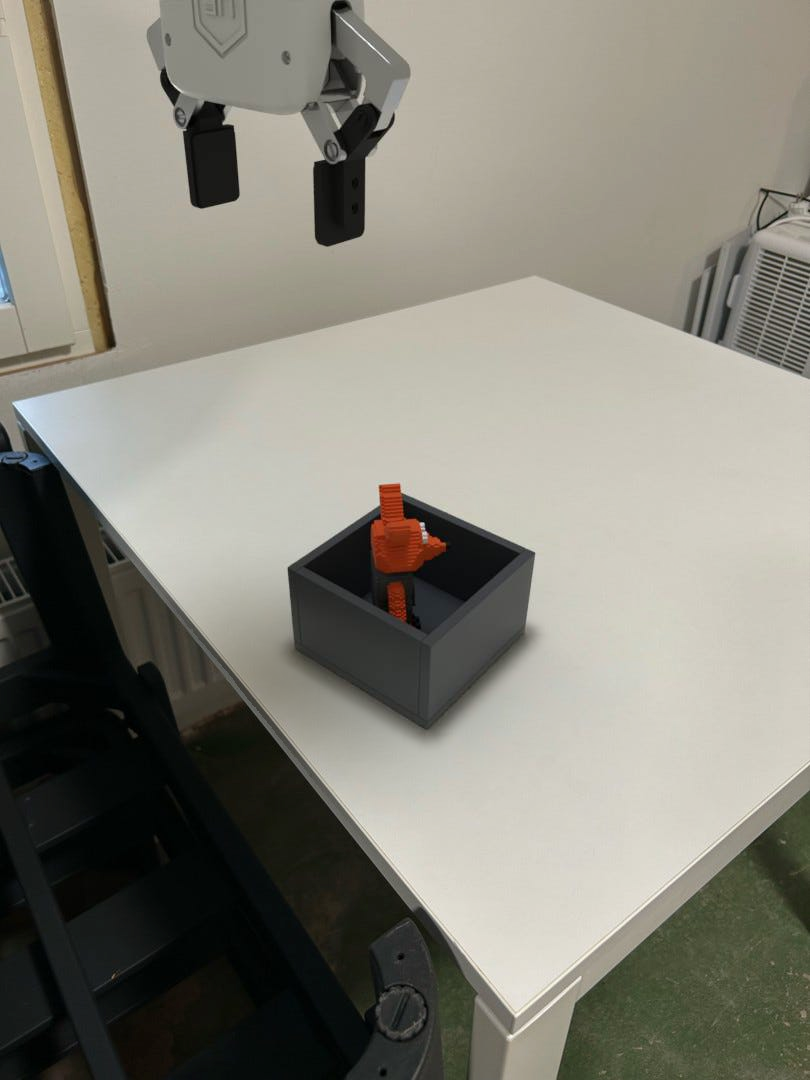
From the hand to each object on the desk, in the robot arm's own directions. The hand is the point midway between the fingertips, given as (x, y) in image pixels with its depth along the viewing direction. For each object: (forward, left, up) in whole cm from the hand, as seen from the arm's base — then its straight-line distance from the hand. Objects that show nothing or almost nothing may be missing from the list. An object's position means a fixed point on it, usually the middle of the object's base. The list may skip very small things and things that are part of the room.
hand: (275, 221), depth 45 cm
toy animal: (+7, +4, -30) cm, 31 cm away
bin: (+7, +4, -31) cm, 32 cm away
